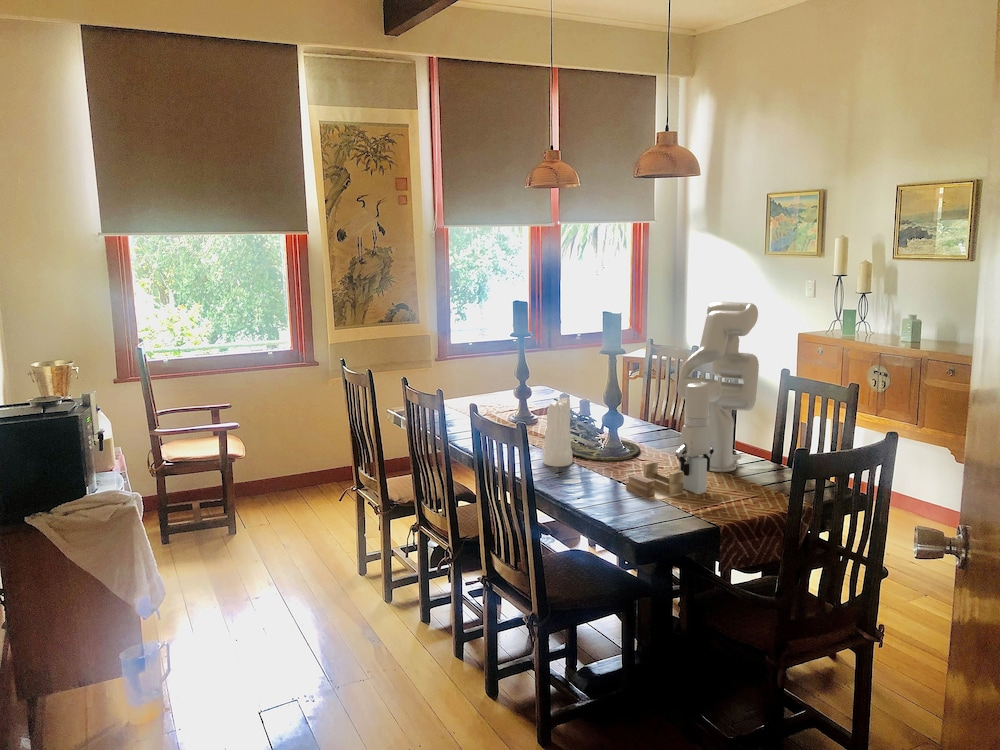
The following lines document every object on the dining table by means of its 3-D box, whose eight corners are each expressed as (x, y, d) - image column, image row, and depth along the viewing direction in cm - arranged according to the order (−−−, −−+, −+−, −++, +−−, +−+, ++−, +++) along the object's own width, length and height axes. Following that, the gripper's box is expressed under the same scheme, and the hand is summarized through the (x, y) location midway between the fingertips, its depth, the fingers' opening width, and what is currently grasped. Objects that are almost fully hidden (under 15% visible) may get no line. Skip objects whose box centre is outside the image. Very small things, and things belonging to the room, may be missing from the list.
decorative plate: (553, 440, 317) (621, 435, 325) (553, 445, 317) (621, 439, 325) (580, 461, 289) (654, 454, 297) (580, 466, 289) (654, 459, 297)
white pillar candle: (541, 466, 287) (541, 399, 283) (544, 457, 298) (544, 393, 293) (571, 467, 286) (571, 400, 281) (573, 459, 296) (573, 394, 292)
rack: (654, 483, 266) (655, 460, 265) (687, 496, 253) (688, 472, 251) (620, 490, 259) (620, 466, 257) (652, 504, 245) (653, 479, 244)
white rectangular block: (686, 487, 261) (687, 452, 259) (705, 494, 253) (707, 458, 251) (678, 488, 259) (679, 453, 257) (697, 496, 251) (699, 460, 249)
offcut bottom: (634, 487, 258) (634, 480, 257) (654, 496, 249) (654, 488, 249) (625, 489, 256) (626, 482, 256) (646, 498, 248) (646, 490, 247)
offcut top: (636, 481, 256) (636, 474, 256) (654, 488, 250) (654, 480, 249) (628, 483, 254) (628, 476, 254) (646, 490, 248) (646, 482, 247)
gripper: (707, 414, 260) (705, 464, 263) (668, 422, 251) (667, 473, 255) (724, 419, 254) (722, 470, 257) (685, 428, 245) (684, 480, 248)
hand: (695, 471), depth 256 cm, fingers open, 9 cm apart
